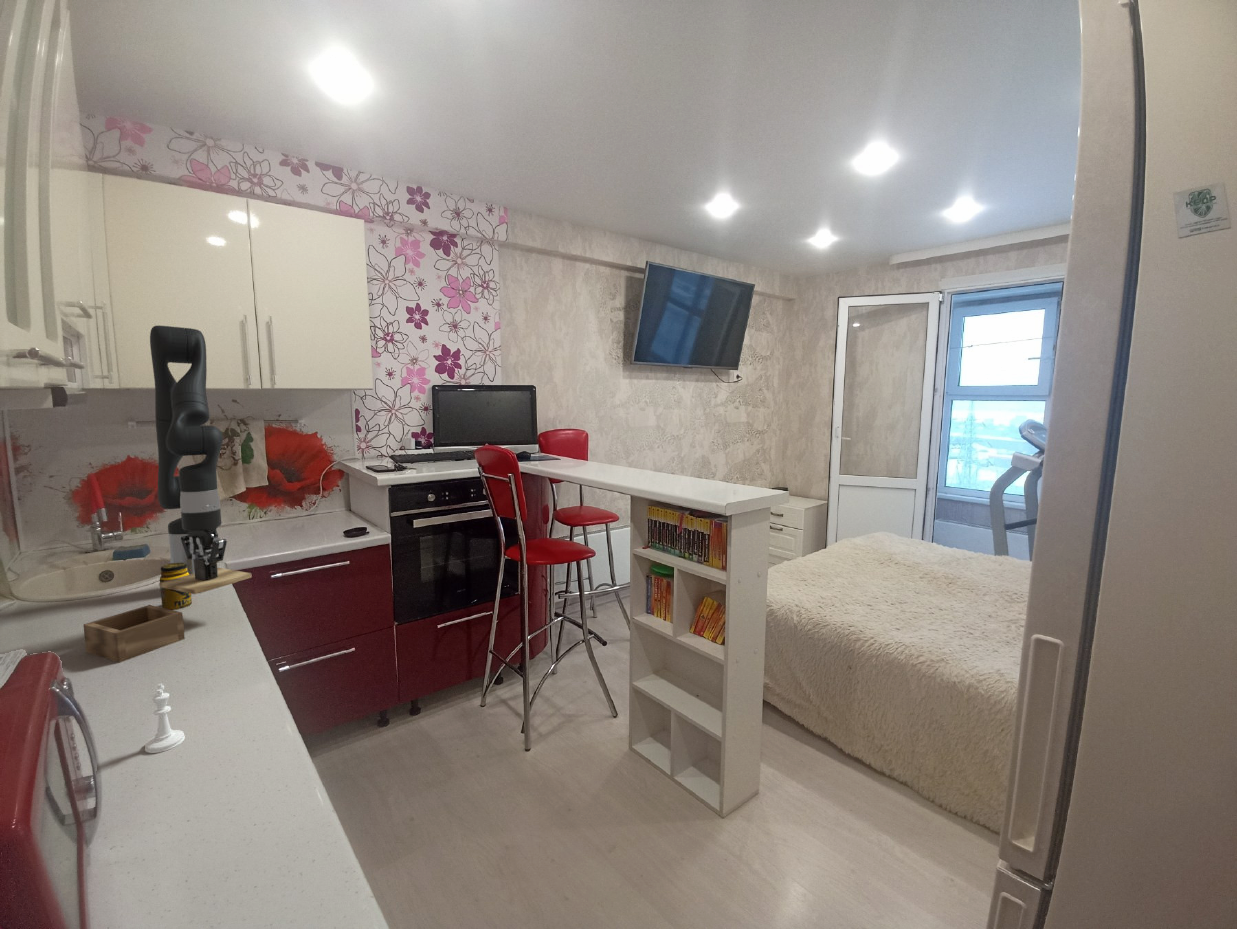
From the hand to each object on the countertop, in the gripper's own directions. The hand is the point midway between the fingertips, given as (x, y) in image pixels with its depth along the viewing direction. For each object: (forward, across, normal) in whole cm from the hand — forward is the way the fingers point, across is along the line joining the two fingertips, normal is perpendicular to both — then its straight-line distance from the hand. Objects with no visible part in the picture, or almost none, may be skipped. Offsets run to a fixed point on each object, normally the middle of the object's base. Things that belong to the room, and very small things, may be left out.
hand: (206, 577), depth 130 cm
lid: (+1, 0, 0) cm, 1 cm away
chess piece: (+12, -43, +33) cm, 55 cm away
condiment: (+12, +18, -2) cm, 22 cm away
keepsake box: (+12, 0, +15) cm, 19 cm away
